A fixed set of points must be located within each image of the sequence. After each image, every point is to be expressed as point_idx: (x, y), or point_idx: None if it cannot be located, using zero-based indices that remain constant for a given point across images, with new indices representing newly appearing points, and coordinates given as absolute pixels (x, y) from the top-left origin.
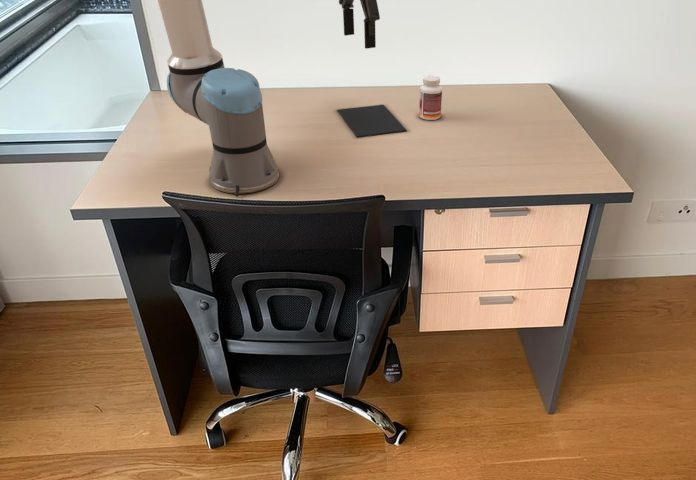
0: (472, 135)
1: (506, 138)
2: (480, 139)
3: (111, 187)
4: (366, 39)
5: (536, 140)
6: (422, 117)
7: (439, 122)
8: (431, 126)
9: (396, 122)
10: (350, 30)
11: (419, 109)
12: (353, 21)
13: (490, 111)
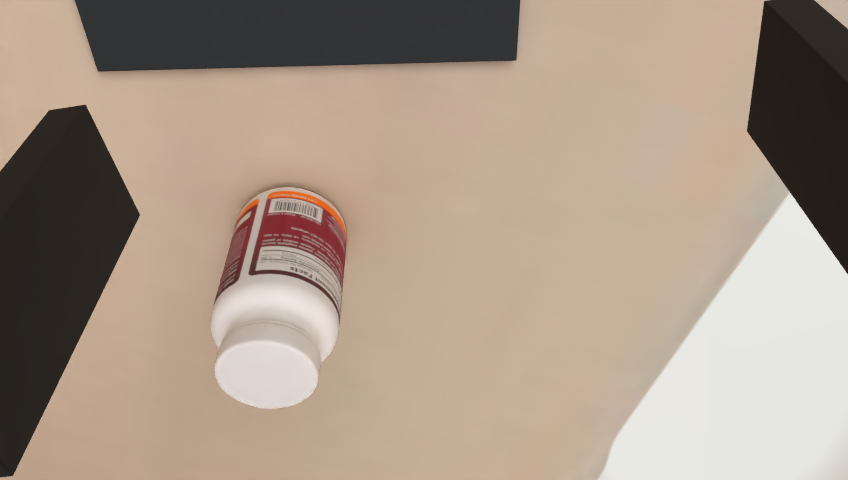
0: None
1: None
2: None
3: None
4: (2, 181)
5: None
6: (262, 193)
7: (214, 242)
8: (166, 198)
9: (215, 51)
10: (775, 112)
11: (294, 207)
12: (821, 229)
13: (310, 429)
